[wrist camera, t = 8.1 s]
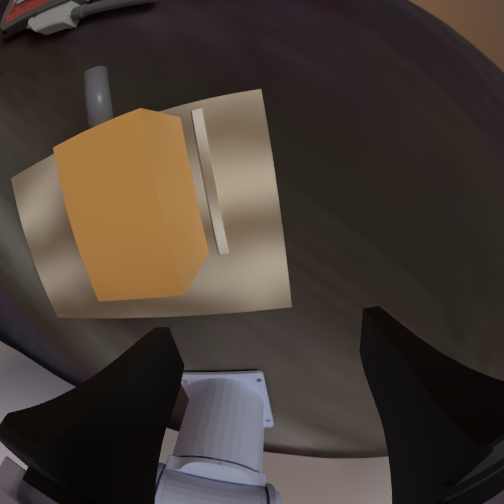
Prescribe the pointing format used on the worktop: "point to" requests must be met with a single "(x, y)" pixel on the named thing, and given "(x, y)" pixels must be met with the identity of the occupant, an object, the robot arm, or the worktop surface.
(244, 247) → the board
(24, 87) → the worktop surface
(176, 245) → the socket block
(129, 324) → the worktop surface
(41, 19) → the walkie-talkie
